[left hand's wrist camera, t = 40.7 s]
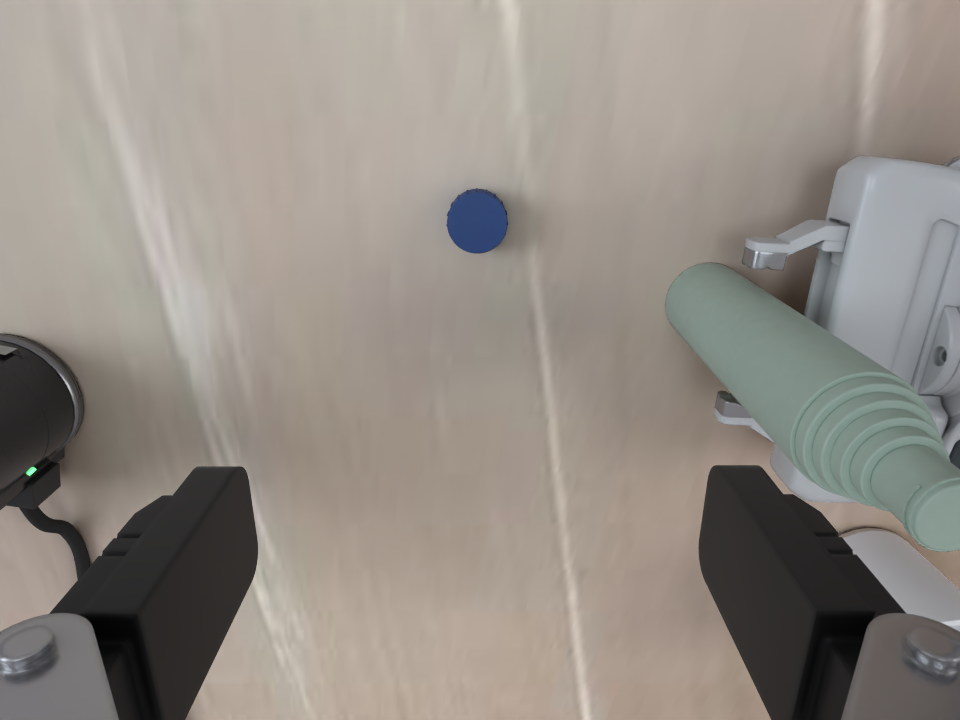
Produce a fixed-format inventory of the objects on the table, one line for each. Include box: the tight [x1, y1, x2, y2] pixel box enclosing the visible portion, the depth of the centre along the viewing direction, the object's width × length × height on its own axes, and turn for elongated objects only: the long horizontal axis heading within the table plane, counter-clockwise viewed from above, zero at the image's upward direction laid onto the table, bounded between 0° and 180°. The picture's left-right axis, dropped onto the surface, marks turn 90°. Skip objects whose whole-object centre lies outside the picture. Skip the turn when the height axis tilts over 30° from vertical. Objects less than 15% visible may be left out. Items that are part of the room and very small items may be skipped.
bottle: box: [666, 263, 960, 552], centre depth 32 cm, size 5×5×25 cm
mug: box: [838, 528, 960, 632], centre depth 47 cm, size 11×9×10 cm
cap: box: [447, 188, 508, 253], centre depth 41 cm, size 4×4×2 cm
